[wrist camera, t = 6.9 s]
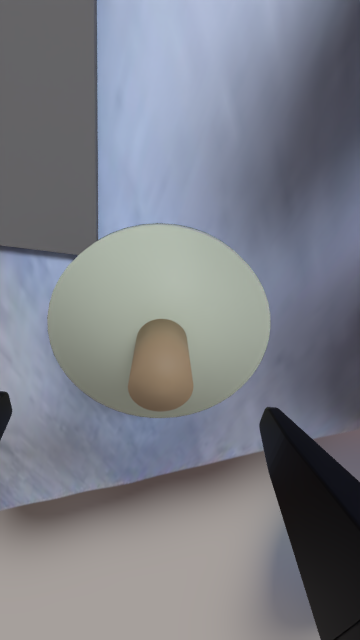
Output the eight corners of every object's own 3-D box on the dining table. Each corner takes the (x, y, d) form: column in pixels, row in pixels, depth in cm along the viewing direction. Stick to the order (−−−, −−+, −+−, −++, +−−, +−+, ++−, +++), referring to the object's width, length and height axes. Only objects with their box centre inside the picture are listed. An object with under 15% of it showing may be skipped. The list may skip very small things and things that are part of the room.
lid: (294, 241, 14) (353, 267, 10) (236, 412, 20) (257, 477, 16) (43, 205, 13) (-23, 218, 8) (62, 401, 19) (30, 469, 14)
